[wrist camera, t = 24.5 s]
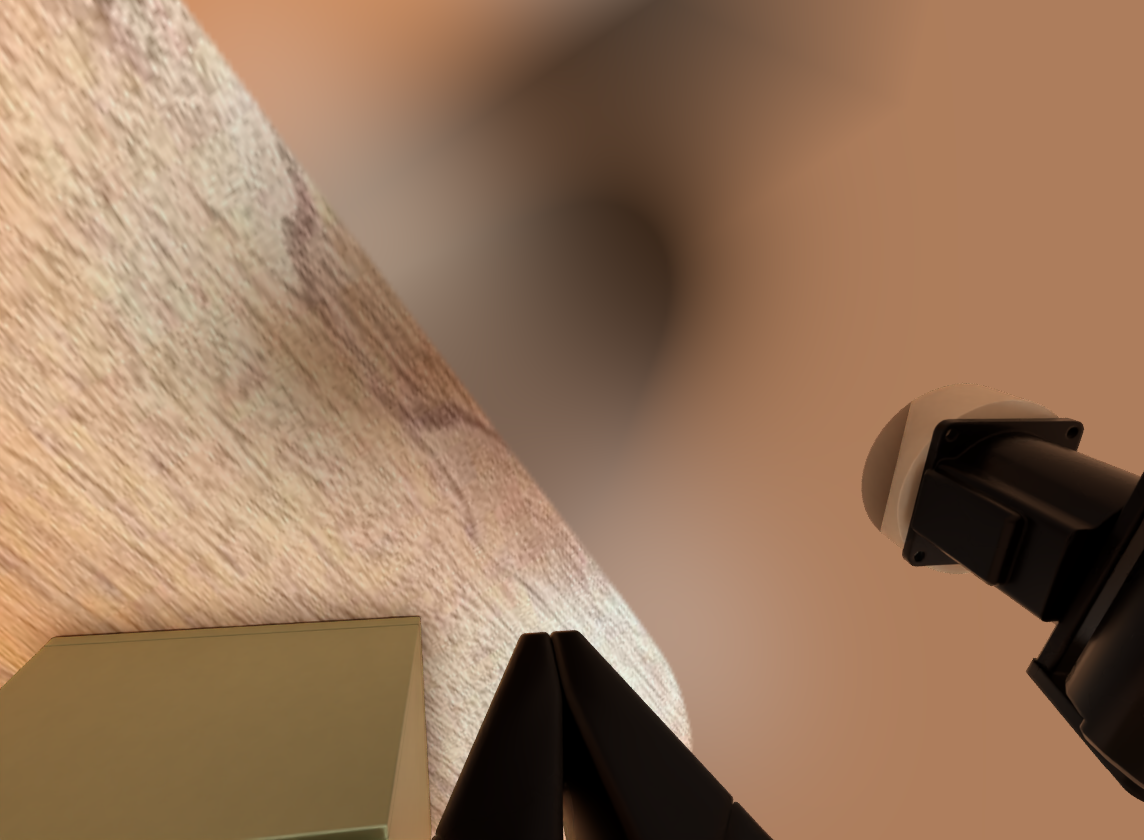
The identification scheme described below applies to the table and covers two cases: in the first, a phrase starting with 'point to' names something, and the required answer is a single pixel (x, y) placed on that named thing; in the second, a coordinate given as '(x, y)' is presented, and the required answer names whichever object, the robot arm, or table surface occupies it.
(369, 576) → the table surface
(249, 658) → the carton
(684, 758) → the robot arm
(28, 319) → the table surface
